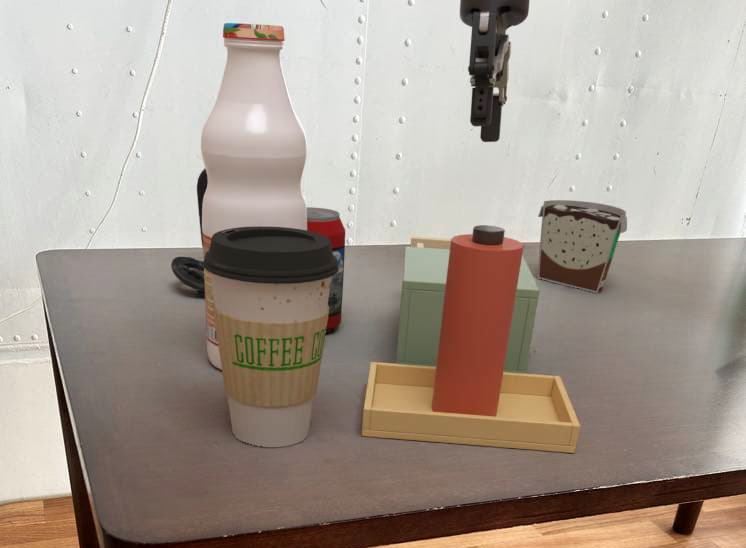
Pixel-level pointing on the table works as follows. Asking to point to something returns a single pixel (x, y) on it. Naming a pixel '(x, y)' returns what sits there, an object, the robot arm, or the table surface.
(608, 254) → the food container
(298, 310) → the coffee cup
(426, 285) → the cabinet
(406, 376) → the tray
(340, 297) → the beverage can
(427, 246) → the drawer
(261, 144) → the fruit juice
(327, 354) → the table surface
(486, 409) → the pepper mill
